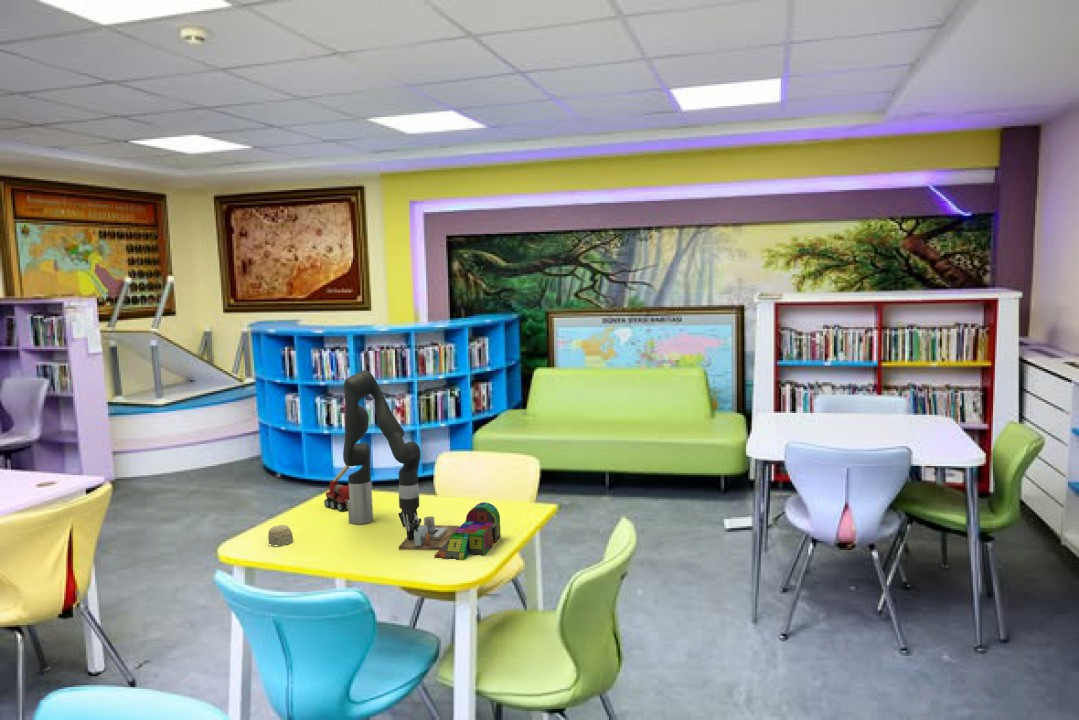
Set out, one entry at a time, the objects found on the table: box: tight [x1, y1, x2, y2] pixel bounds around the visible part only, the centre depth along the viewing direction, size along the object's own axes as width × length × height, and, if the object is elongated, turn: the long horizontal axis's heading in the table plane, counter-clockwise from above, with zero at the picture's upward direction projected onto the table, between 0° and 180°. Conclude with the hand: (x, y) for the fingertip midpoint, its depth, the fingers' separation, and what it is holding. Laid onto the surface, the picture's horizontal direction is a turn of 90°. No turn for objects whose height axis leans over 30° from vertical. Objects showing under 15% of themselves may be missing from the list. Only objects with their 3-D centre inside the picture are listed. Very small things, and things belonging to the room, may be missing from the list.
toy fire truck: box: [323, 465, 350, 513], centre depth 350 cm, size 11×16×18 cm
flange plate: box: [414, 524, 447, 546], centre depth 299 cm, size 18×10×6 cm, turn 167°
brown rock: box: [267, 524, 294, 547], centre depth 304 cm, size 9×10×10 cm
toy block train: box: [433, 501, 502, 561], centre depth 291 cm, size 25×17×14 cm
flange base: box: [398, 516, 460, 551], centre depth 303 cm, size 17×25×8 cm
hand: (410, 539), depth 296 cm, fingers closed
